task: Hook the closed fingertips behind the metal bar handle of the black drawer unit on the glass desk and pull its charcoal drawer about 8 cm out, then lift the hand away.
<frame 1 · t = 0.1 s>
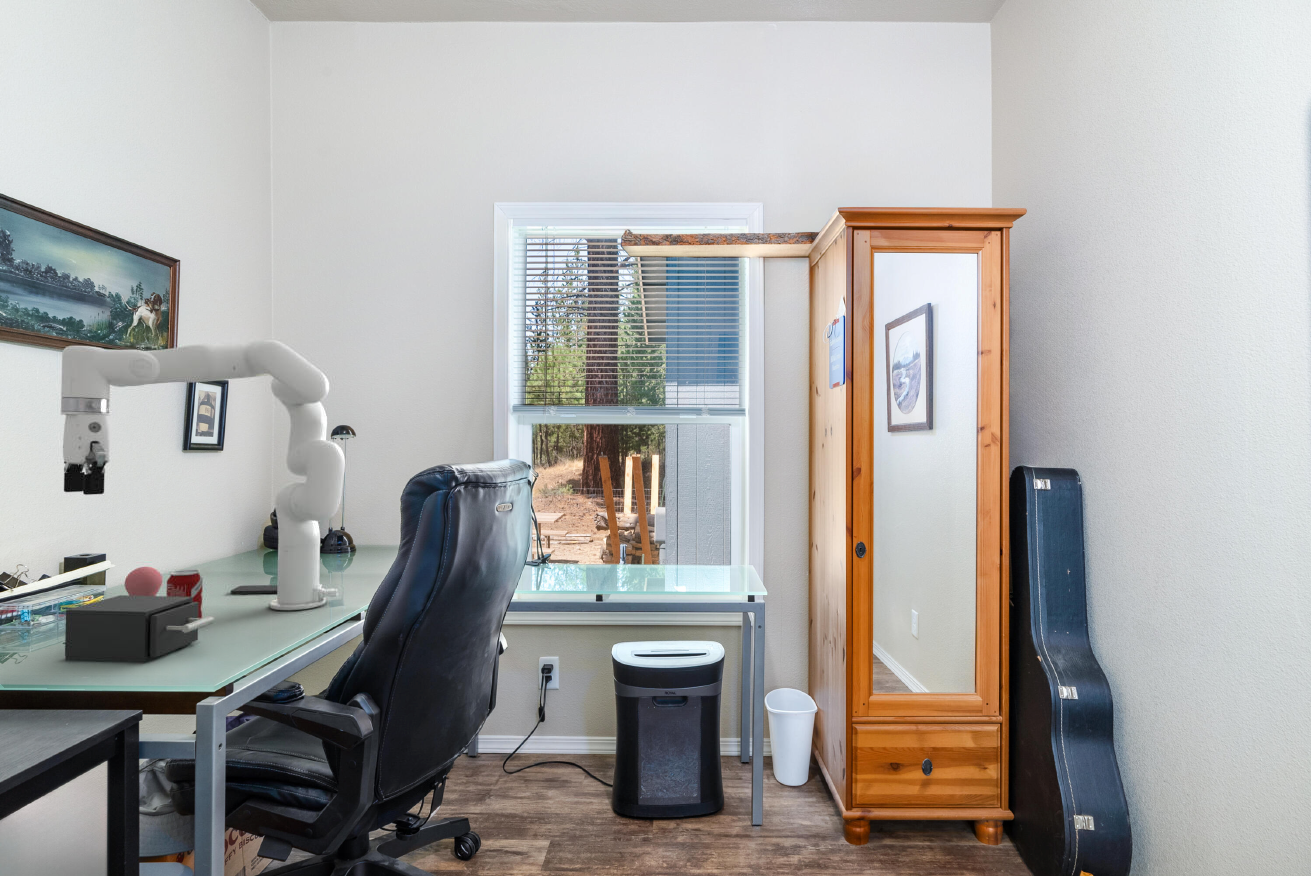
hand: (83, 492, 138), 31 cm above the table, tool pointing down, fingers open, 9 cm apart
light bulb: (143, 618, 161), on the table
phone: (264, 591, 191), on the table
soda can: (183, 625, 156), on the table
cabinet: (131, 651, 136), on the table
drawer: (154, 627, 136), point 5 cm above the table, slide at 0.5 cm
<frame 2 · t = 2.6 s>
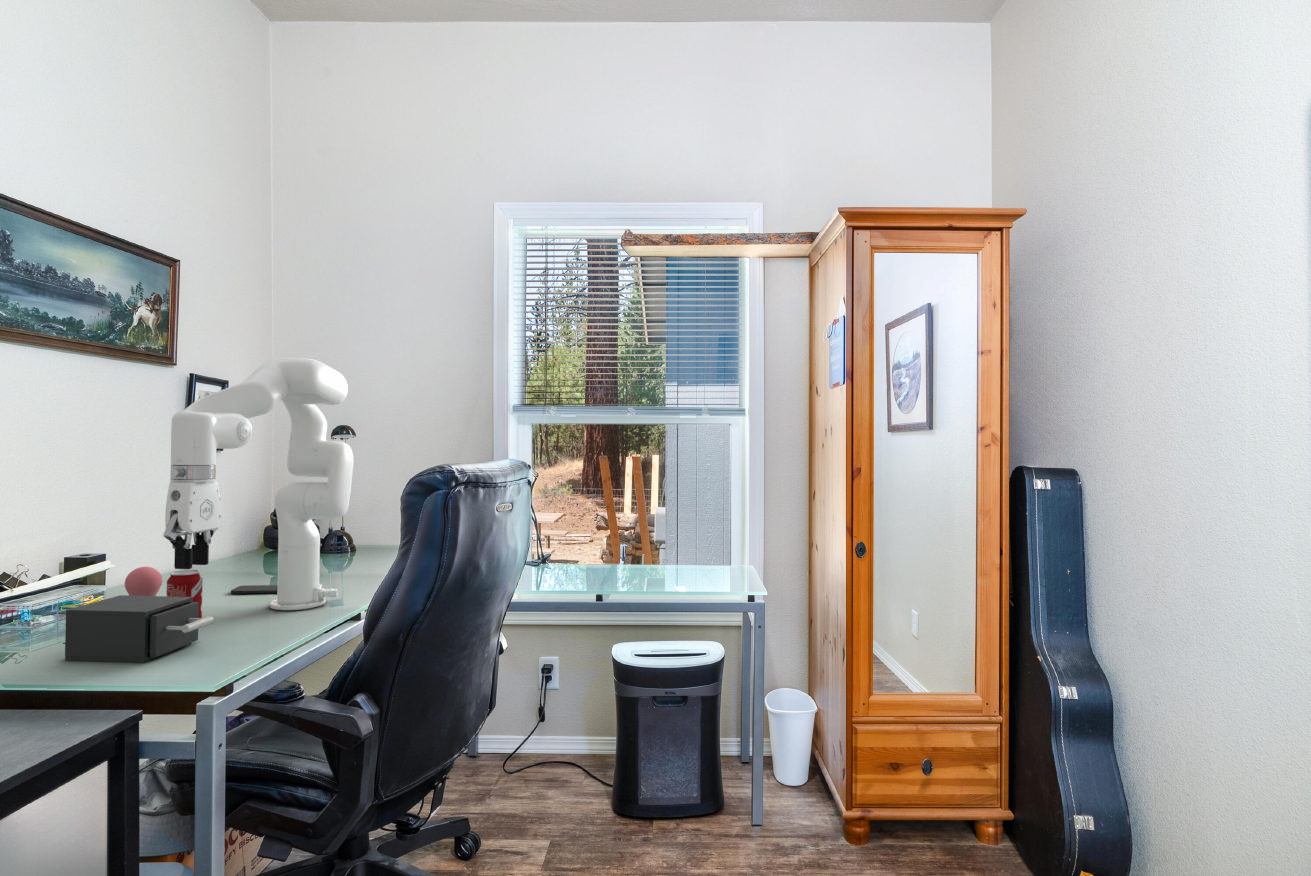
hand: (191, 565, 136), 17 cm above the table, tool pointing down, fingers open, 3 cm apart
nothing on the table moved.
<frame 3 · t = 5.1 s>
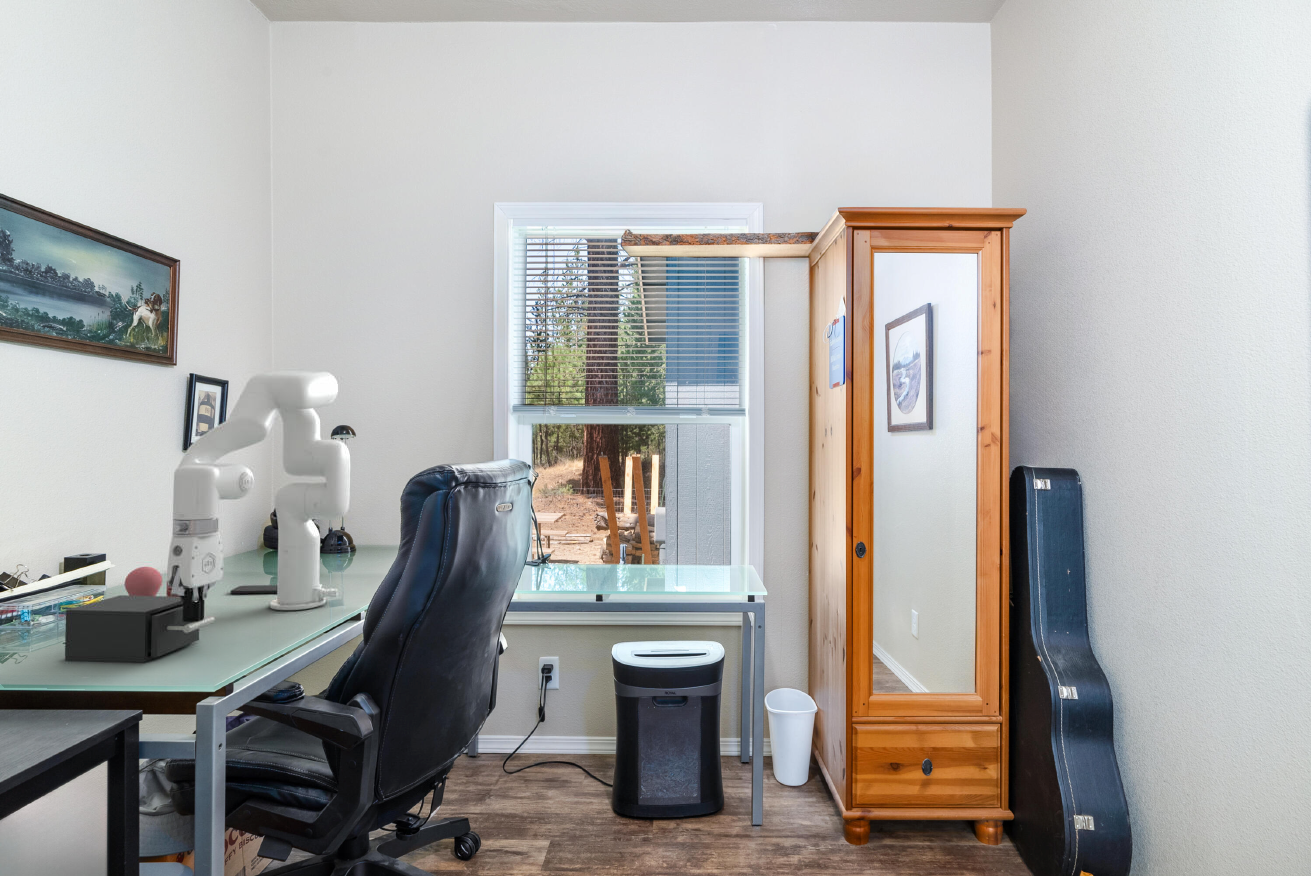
hand: (193, 620, 135), 7 cm above the table, tool pointing down, fingers closed
drawer: (155, 627, 136), point 5 cm above the table, slide at 0.8 cm, touching gripper
everything else where it was.
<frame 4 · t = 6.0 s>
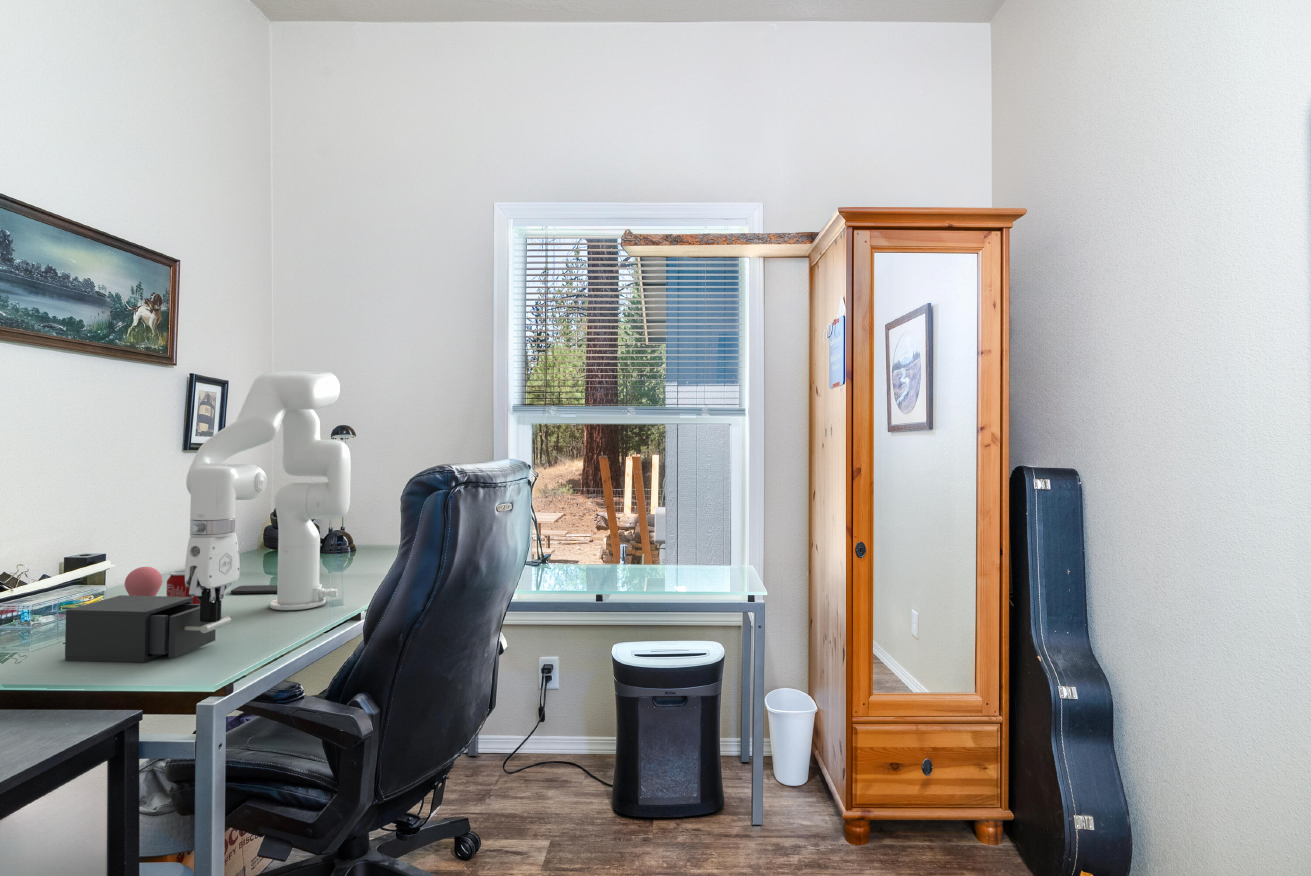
hand: (210, 620, 135), 7 cm above the table, tool pointing down, fingers closed
drawer: (172, 628, 136), point 5 cm above the table, slide at 4.2 cm, touching gripper
everything else where it was.
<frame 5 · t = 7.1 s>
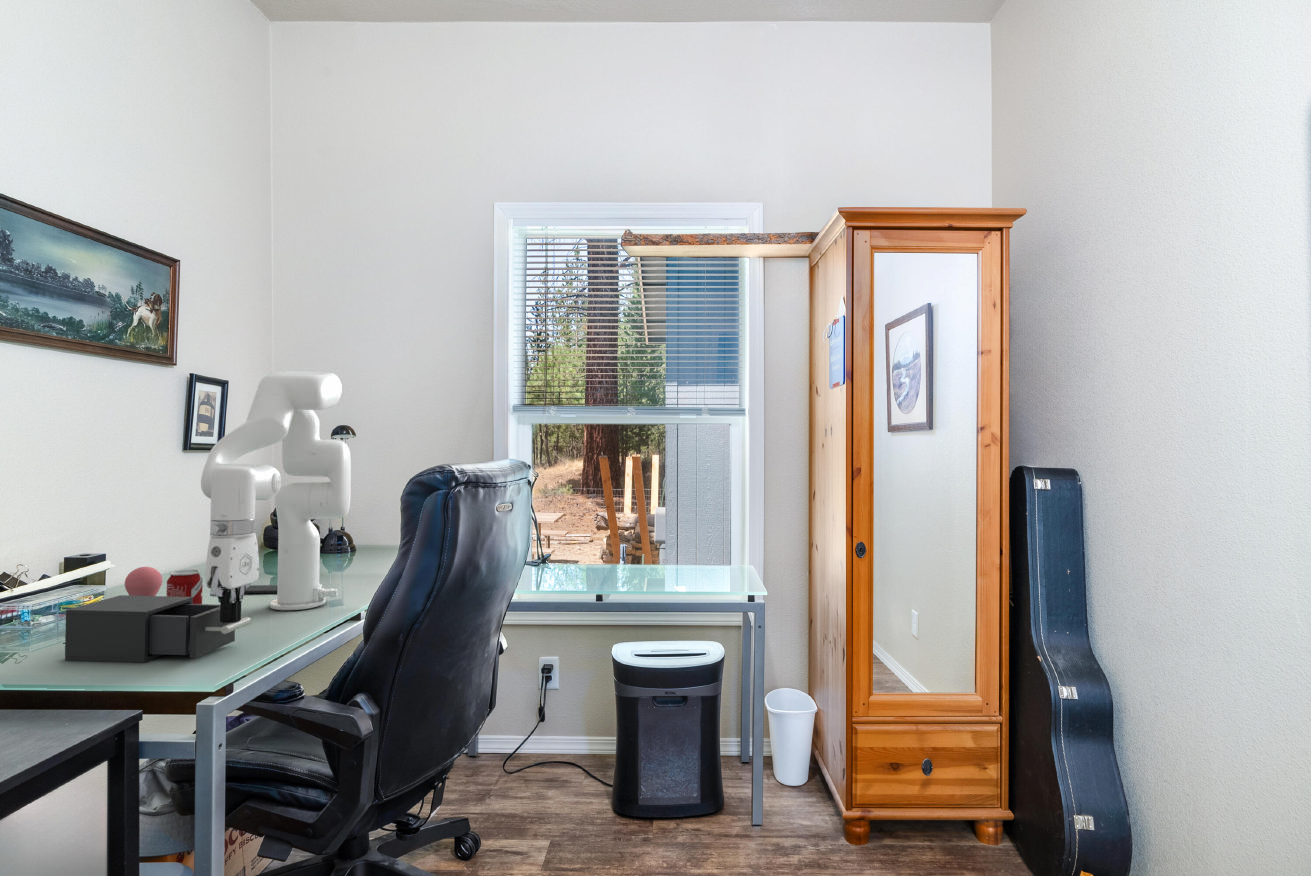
hand: (230, 621, 135), 7 cm above the table, tool pointing down, fingers closed
drawer: (192, 628, 136), point 5 cm above the table, slide at 8.3 cm, touching gripper
everything else where it was.
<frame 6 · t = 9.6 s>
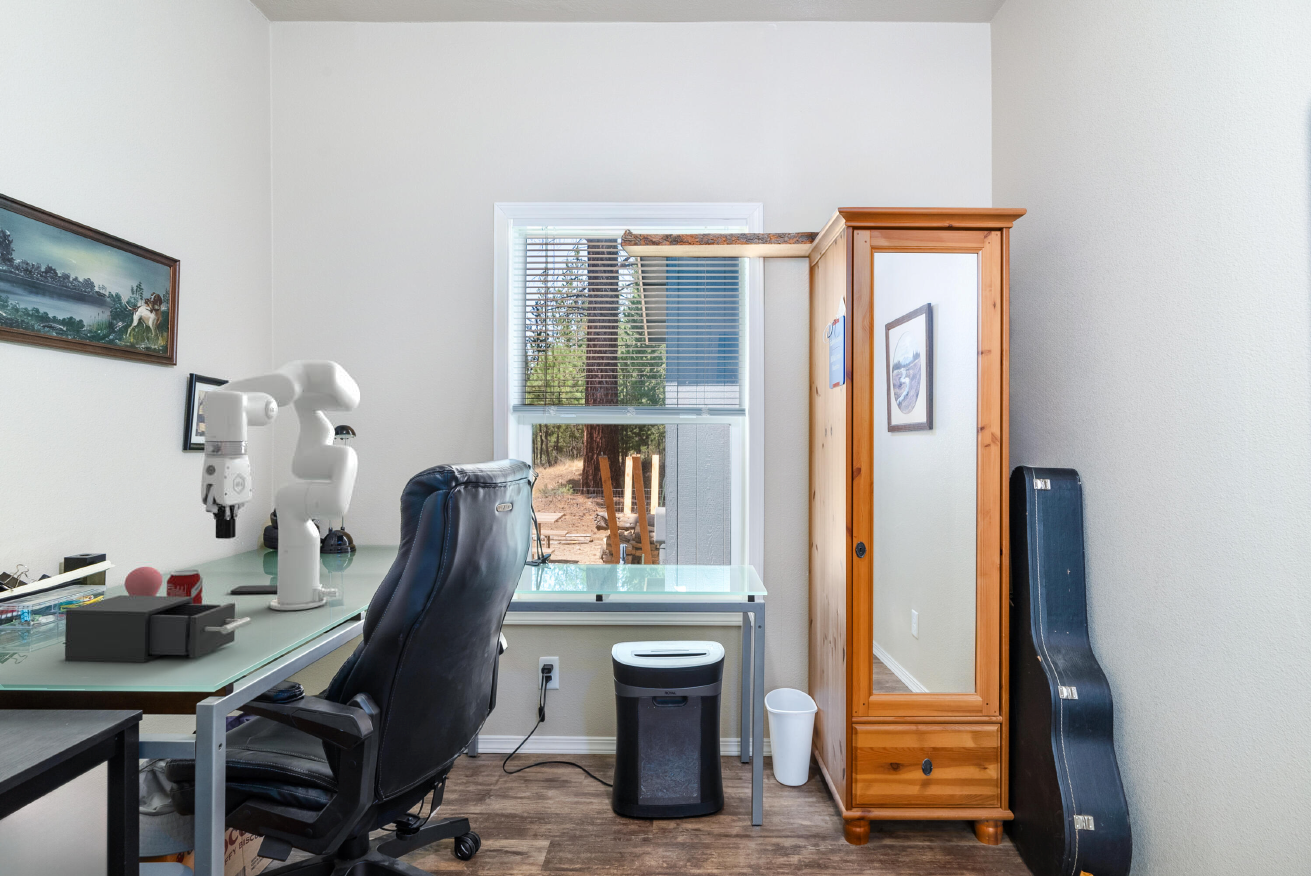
hand: (225, 537, 143), 22 cm above the table, tool pointing down, fingers closed
drawer: (192, 628, 136), point 5 cm above the table, slide at 8.2 cm
everything else where it was.
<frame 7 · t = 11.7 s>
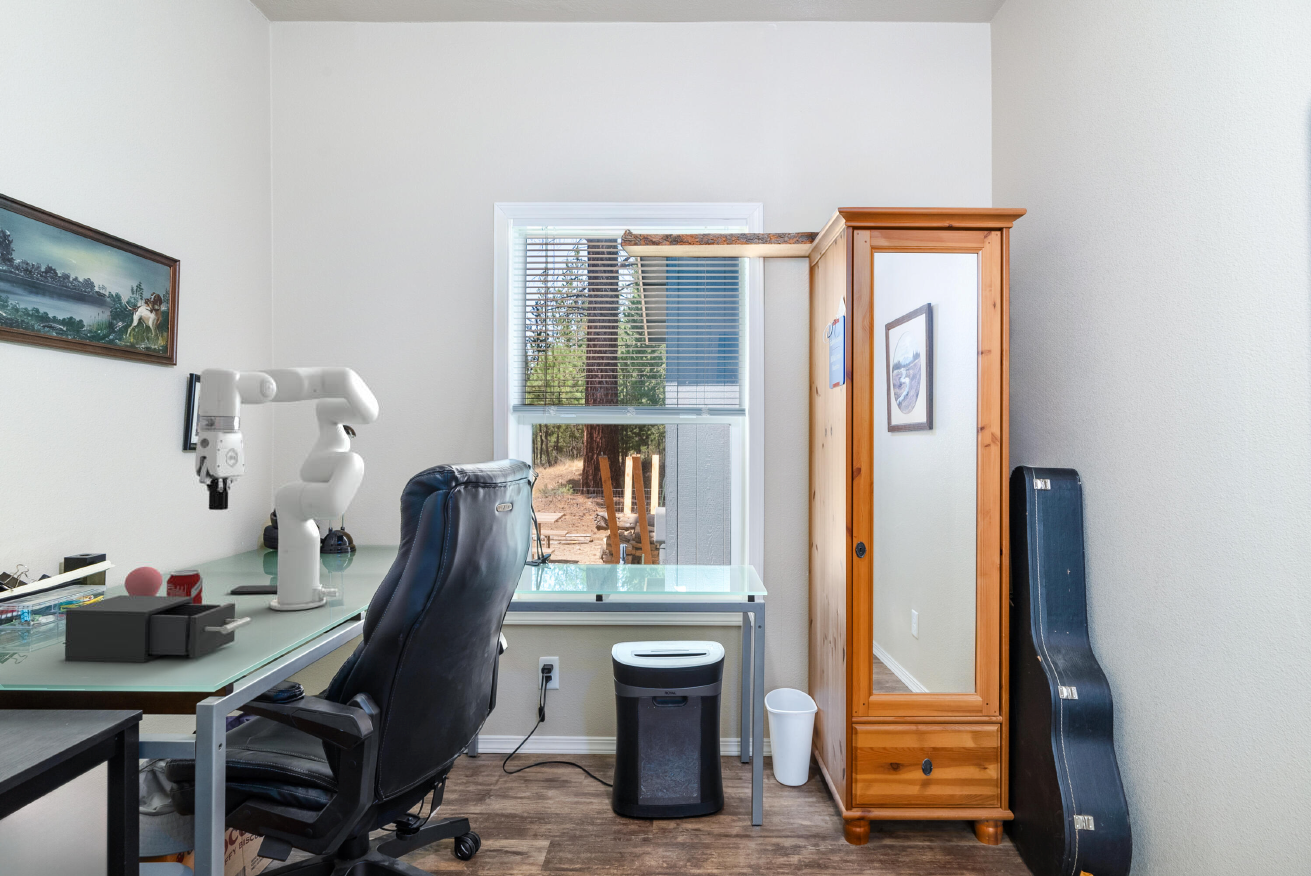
hand: (218, 509, 149), 27 cm above the table, tool pointing down, fingers closed
nothing on the table moved.
at the end: drawer slide at 8.2 cm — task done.
